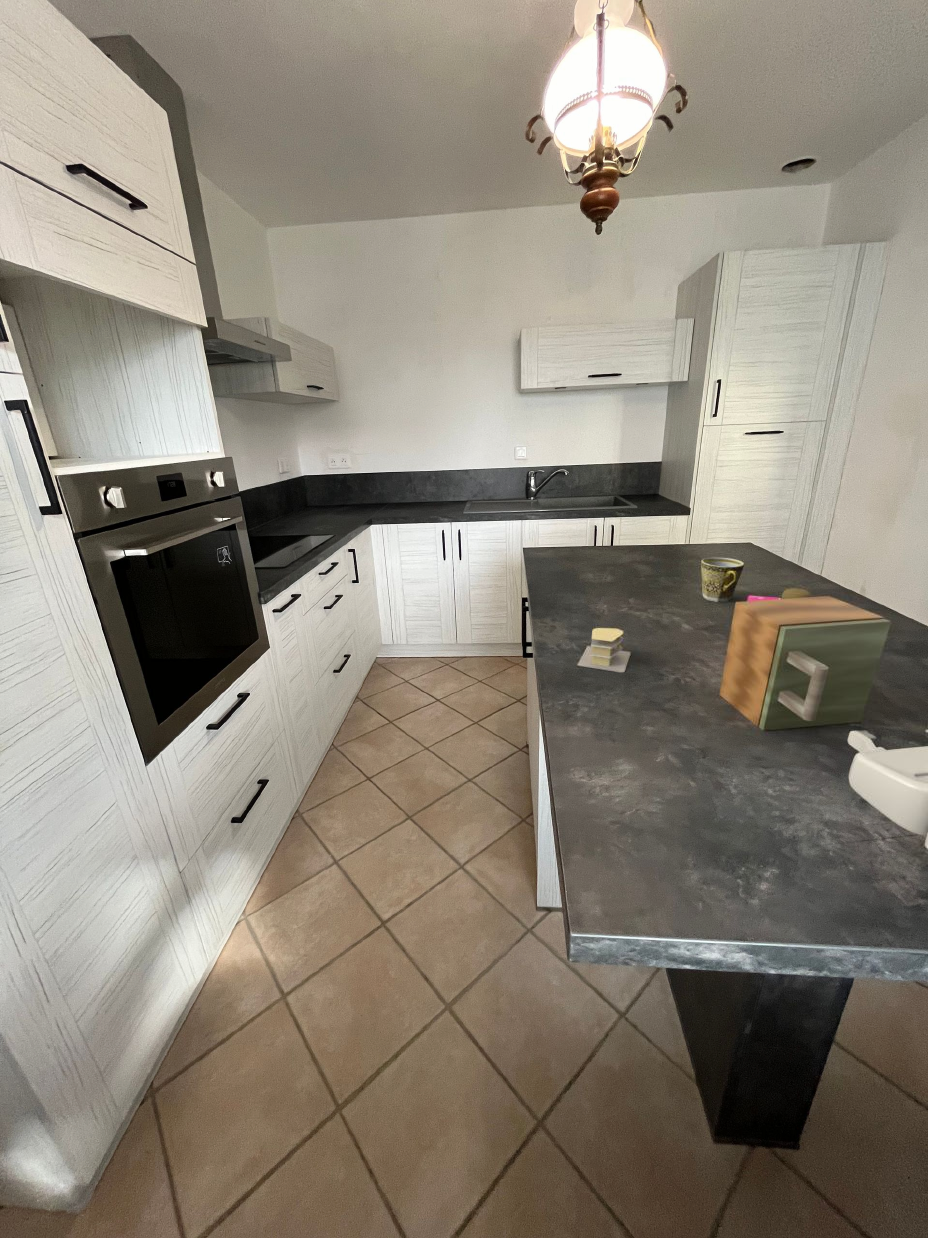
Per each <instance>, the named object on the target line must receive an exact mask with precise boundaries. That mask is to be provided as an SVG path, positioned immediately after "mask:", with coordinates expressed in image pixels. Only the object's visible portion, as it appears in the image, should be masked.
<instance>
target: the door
mask: <svg viewBox="0 0 928 1238" xmlns="http://www.w3.org/2000/svg"><path fill="white" fill-rule="evenodd" d="M891 624H892V621H891V620H889V619H886V618H883V619H879V620H865V621H851V622H837V623H823V624H809V625H796V626H782V627H781V628H780V633H779V637H778V642H777V646H776V651H775V656H774V660H773V665H772V669H771V674H770V679H769V683H768V688H767V693H766V697H765V702H764V706H763V711H762V716H761V720H760V725H759V727H758V728H759V729H760V730H761V731H764V732H765V731H776V730H777V731H778V730H788V729H798V728H799V729H800V728H808V727H820V726H821V727H822V726H829V725H841V724H852V723H853V724H854V723H861V722H862V718H863V716H864V712H865V709H866V706H867V702H868V699H869V696H870V693H871V689H872V687H873V683H874V679H875V677H876V673H877V670H878V668H879V667H878V666H879V663H880V660H881V655H882V653H883V650H884V646H885V643H886V641H887V637H888V633H889V630H890V627H891Z"/></svg>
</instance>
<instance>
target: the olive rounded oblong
mask: <svg viewBox="0 0 928 1238" xmlns="http://www.w3.org/2000/svg"><path fill="white" fill-rule="evenodd" d="M805 597H813V596H812V593H811V592H810V591H808V590H806V589H803V588H796V587H794V588H793V587H792V588H791V587H790V588H787V589H784V591H783V592H782V594H781V599H790V598H805Z"/></svg>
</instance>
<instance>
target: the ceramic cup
mask: <svg viewBox="0 0 928 1238" xmlns="http://www.w3.org/2000/svg"><path fill="white" fill-rule="evenodd" d="M700 566H701V567H700V572H701V589H702V597H703V598H704V599H705V600H707V601H711V602H715V603H727V602H729V601H731V600H732V597H733V596H734V593H735V590H736V587H737V585H738V582H739V580H740V578H741V575H742V573H743V570H744V567H745V563H744V562H743V561H741V560H739V559H734V558H730V557H706V558H703V559H701V564H700Z"/></svg>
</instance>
